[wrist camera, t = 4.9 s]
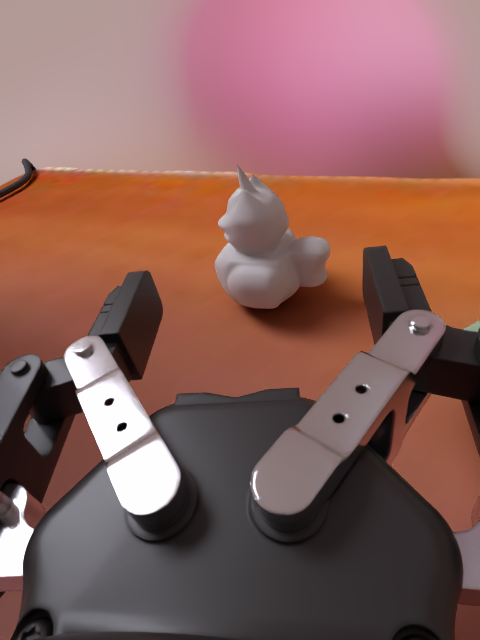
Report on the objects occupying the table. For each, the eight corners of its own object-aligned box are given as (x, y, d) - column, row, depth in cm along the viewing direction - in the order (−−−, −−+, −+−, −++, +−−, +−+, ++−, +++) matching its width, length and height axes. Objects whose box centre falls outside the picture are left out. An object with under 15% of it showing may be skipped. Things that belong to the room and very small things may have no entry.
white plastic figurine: (237, 268, 27) (211, 146, 22) (338, 271, 25) (335, 137, 20) (209, 322, 24) (170, 191, 19) (324, 332, 22) (316, 186, 16)
